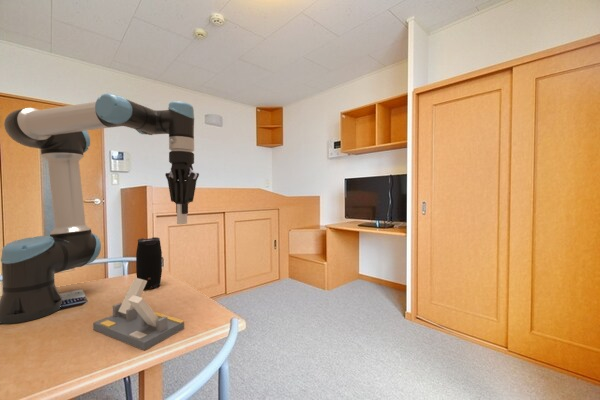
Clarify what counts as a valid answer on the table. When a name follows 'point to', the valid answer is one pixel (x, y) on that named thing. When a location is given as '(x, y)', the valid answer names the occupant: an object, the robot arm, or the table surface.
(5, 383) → the table surface
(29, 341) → the table surface
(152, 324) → the paddle
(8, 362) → the table surface
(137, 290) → the paddle
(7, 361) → the table surface
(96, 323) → the switch unit
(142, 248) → the portable speaker
